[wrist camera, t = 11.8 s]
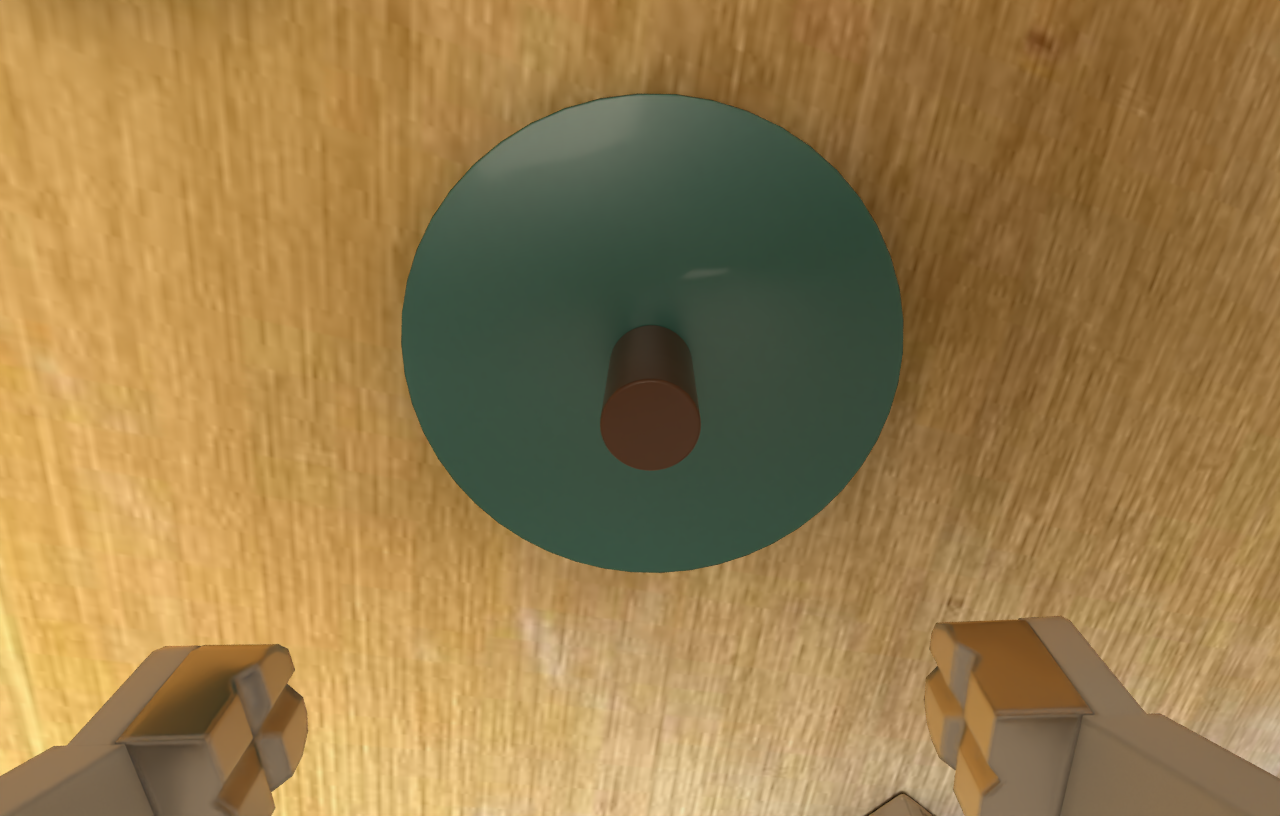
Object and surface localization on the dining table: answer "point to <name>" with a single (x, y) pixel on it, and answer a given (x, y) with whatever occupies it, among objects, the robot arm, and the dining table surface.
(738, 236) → the tin lid
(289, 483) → the dining table surface
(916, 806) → the coffee box
